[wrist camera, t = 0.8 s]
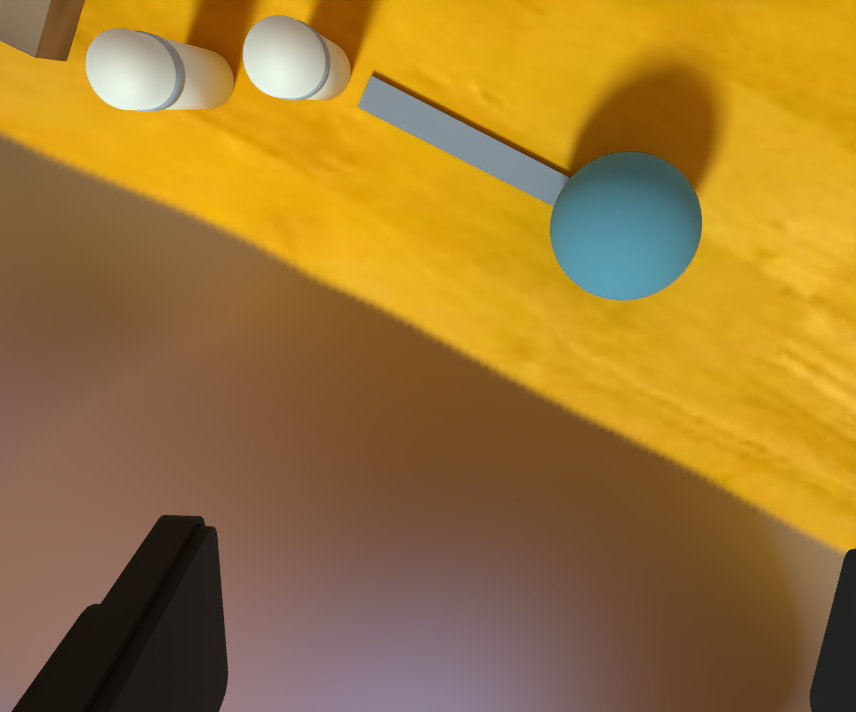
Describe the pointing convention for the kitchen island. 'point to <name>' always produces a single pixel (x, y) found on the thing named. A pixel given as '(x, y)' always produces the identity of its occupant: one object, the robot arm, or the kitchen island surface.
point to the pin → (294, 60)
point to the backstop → (40, 26)
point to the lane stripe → (462, 141)
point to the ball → (626, 225)
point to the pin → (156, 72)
